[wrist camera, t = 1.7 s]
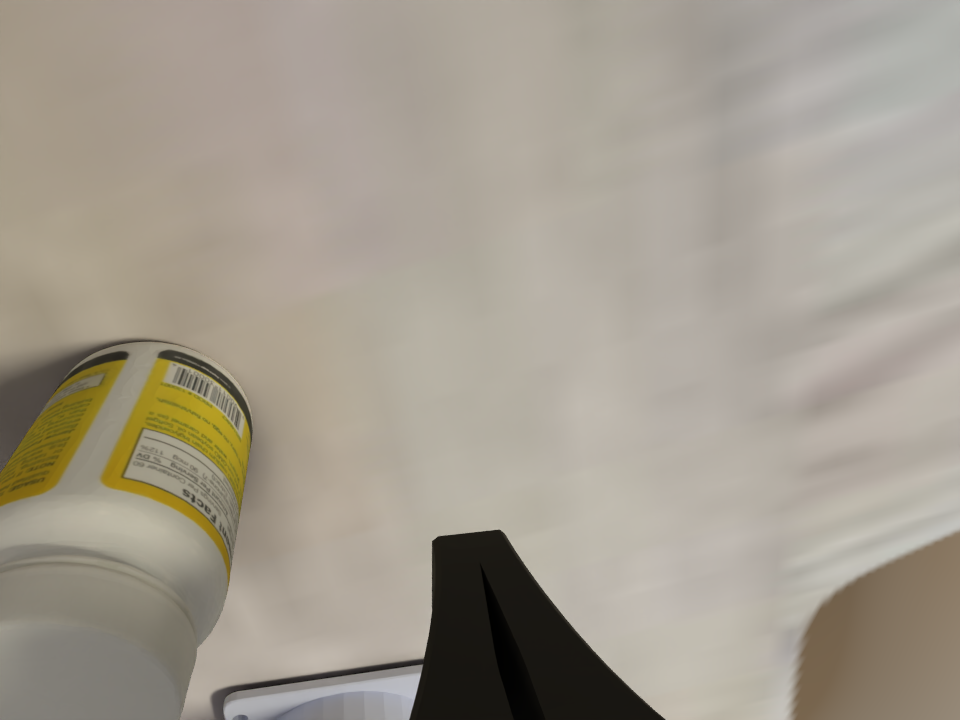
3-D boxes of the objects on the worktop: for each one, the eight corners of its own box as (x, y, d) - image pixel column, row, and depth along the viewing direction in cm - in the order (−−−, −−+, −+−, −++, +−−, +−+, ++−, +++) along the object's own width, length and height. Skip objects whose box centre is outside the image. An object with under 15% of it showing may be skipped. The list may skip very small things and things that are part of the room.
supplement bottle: (68, 486, 18) (-109, 817, 11) (46, 329, 16) (-189, 610, 9) (254, 488, 19) (208, 788, 12) (257, 342, 17) (205, 599, 10)
